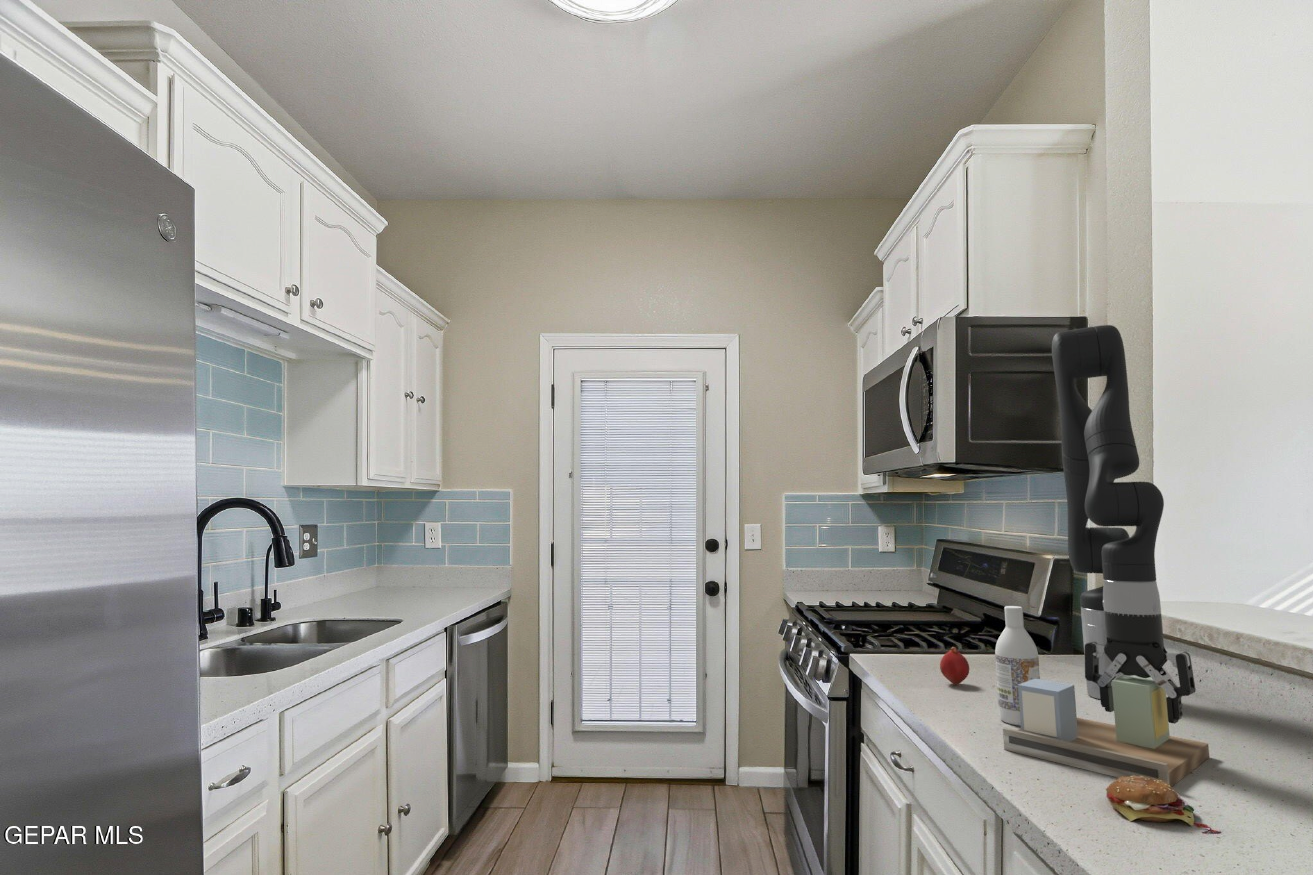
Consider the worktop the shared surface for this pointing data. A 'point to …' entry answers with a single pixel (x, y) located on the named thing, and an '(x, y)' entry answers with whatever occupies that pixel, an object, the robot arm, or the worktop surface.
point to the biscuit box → (1048, 709)
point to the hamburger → (1150, 801)
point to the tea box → (1140, 711)
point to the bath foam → (1014, 664)
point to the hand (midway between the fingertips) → (1140, 716)
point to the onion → (954, 666)
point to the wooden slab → (1112, 752)
